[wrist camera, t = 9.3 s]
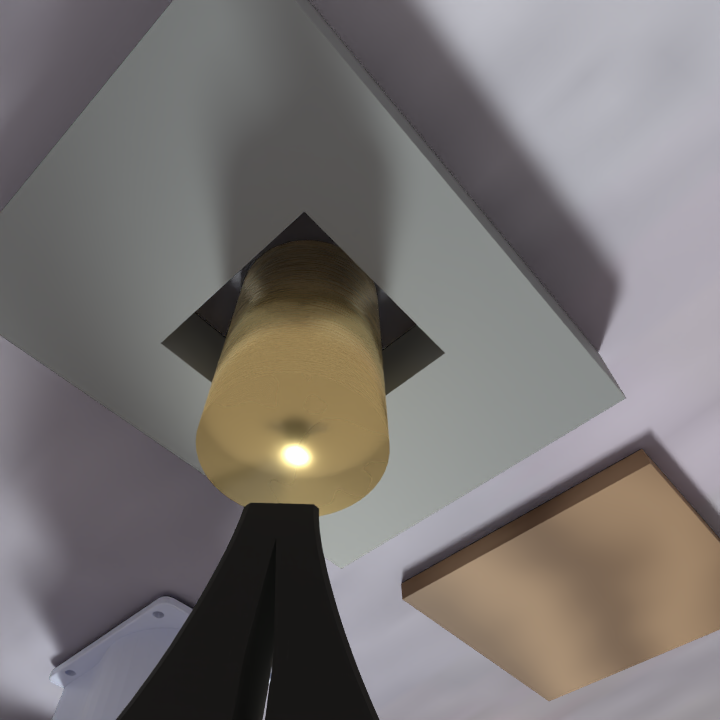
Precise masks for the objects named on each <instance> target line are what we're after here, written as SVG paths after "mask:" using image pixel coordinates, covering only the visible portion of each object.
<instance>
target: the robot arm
mask: <svg viewBox="0 0 720 720" xmlns="http://www.w3.org/2000/svg"><path fill="white" fill-rule="evenodd" d="M49 680H50V681H51V682H52V683H54V684H56V685H58V686H60V687H62V688H64V690H63V693H62V695H61V698H60V700H59V703H58V706H57V708H56V711H55V713H54V716H53V719H52V720H262V719H263V713H264V708H265V702H266V697H267V691H268V686H269V683H270V686H269V694H268V701H267V709H266V717H265V720H379V718H378V715H377V713H376V711H375V709H374V706H373V704H372V702H371V699H370V697H369V695H368V692H367V690H366V687H365V685H364V683H363V680H362V678H361V675H360V672H359V670H358V667H357V665H356V662H355V659H354V657H353V654H352V651H351V648H350V645H349V643H348V640H347V637H346V634H345V631H344V628H343V625H342V622H341V619H340V616H339V612H338V609H337V606H336V602H335V598H334V595H333V591H332V588H331V584H330V580H329V576H328V572H327V568H326V563H325V558H324V553H323V548H322V542H321V535H320V525H319V508H318V507H317V506H315V505H314V504H287V503H249V504H247V505H246V506H245V507H244V509H243V512H242V515H241V517H240V520H239V522H238V525H237V527H236V529H235V532H234V534H233V536H232V538H231V540H230V542H229V545H228V547H227V549H226V551H225V553H224V555H223V556H222V558H221V560H220V562H219V564H218V566H217V568H216V570H215V572H214V573H213V575H212V577H211V579H210V581H209V582H208V584H207V586H206V588H205V590H204V591H203V593H202V595H201V597H200V598H199V600H198V602H197V603H196V605H195V607H194V608H193V609H192V608H190V607H188V606H187V605H185V604H183V603H181V602H179V601H178V600H176V599H174V598H172V597H167V596H165V597H161V598H158V599H157V600H155V601H154V602H152V603H151V604H149V605H148V606H146V607H145V608H144V609H142V610H141V611H139V612H138V613H136V614H135V615H133V616H132V617H130V618H129V619H127V620H126V621H124V622H123V623H121V624H120V625H118V626H117V627H115V628H114V629H112V630H111V631H109V632H108V633H107V634H105V635H104V636H102V637H101V638H99V639H98V640H96V641H95V642H93V643H92V644H90V645H89V646H87V647H86V648H84V649H83V650H81V651H80V652H78V653H77V654H75V655H74V656H73V657H71V658H70V659H68V660H67V661H65V662H64V663H62V664H61V665H59V666H58V667H56V668H55V669H53V670H52V672H51V674H50V676H49Z"/></svg>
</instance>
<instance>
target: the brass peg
mask: <svg viewBox="0 0 720 720" xmlns="http://www.w3.org/2000/svg"><path fill="white" fill-rule="evenodd" d="M196 452H197V456H198V460H199V462H200V465H201V467H202V469H203V471H204V473H205V474H206V476H207V477H208V479H209V480H210V481H211V482H212V484H213V485H214V486H215V487H216V488H217V489H218V490H219V491H220V492H222V493H223V494H224V495H225V496H227V497H228V498H230V499H231V500H233V501H234V502H236V503H238V504H240V505H242V506H244V507H245V506H246V505H247V504H249V503H287V504H314V505H315V506H317V507H318V508H319V516H323V515H327V514H331V513H334V512H337V511H340V510H343V509H345V508H347V507H349V506H351V505H353V504H355V503H356V502H358V501H360V500H361V499H362V498H364V497H365V496H366V495H368V494H369V493H370V492H371V491H372V490H373V489H374V488H375V486H376V485H377V484H378V482H379V481H380V480H381V478H382V476H383V474H384V472H385V470H386V467H387V464H388V460H389V454H390V443H389V431H388V419H387V406H386V394H385V382H384V370H383V358H382V346H381V333H380V321H379V309H378V297H377V291H376V287H375V284H374V281H373V280H372V279H371V278H370V277H369V276H368V275H367V274H366V273H365V272H364V271H363V270H362V269H361V268H360V267H359V266H358V265H357V264H356V263H355V262H354V261H353V260H352V259H351V258H350V257H349V256H348V255H347V254H346V253H345V252H344V251H343V250H342V249H341V248H340V247H338V246H335V245H332V244H329V243H326V242H321V241H314V240H298V241H292V242H288V243H285V244H281V245H279V246H277V247H274V248H272V249H271V250H269V251H267V252H266V253H264V254H263V255H262V256H261V257H260V258H258V259H257V260H256V262H255V263H254V264H253V265H252V266H251V268H250V269H249V271H248V272H247V275H246V277H245V279H244V282H243V285H242V288H241V291H240V295H239V298H238V301H237V304H236V307H235V311H234V314H233V317H232V320H231V323H230V326H229V330H228V333H227V336H226V339H225V342H224V346H223V349H222V352H221V355H220V358H219V361H218V365H217V368H216V371H215V374H214V377H213V381H212V384H211V387H210V390H209V393H208V396H207V400H206V403H205V406H204V409H203V412H202V416H201V419H200V422H199V425H198V429H197V433H196Z"/></svg>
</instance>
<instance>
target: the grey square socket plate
mask: <svg viewBox="0 0 720 720" xmlns="http://www.w3.org/2000/svg"><path fill="white" fill-rule="evenodd" d="M303 212H305V213H306V214H307V215H308V216H309V217H310V218H311V219H312V220H313V221H314V222H315V223H316V224H317V225H318V226H319V227H320V228H321V229H322V230H323V231H324V232H325V233H326V234H327V235H328V236H329V237H330V238H331V239H332V240H333V241H334V242H335V243H336V244H337V245H338V246H339V247H340V248H341V249H342V250H343V251H344V252H345V253H346V254H347V255H348V256H349V257H350V258H351V259H352V260H353V261H354V262H355V263H356V264H357V265H358V266H359V267H360V268H361V269H362V270H363V271H364V272H365V273H366V274H367V275H368V276H369V277H370V278H371V279H372V280H373V281H374V282H375V283H376V284H377V285H378V286H379V287H380V288H381V289H382V290H383V291H384V292H385V293H386V294H387V295H388V296H389V297H390V298H391V299H392V300H393V301H394V302H395V303H396V304H397V305H398V306H399V307H400V308H401V309H402V310H403V311H404V312H405V313H406V314H407V315H408V316H409V317H410V318H411V319H412V320H413V321H414V322H415V323H416V324H417V325H416V326H415V327H413V328H412V329H411V330H409V331H408V332H407V333H405V334H404V335H403V336H401V337H400V338H399V339H397V340H396V341H395V342H393V343H392V344H391V345H389V346H388V347H387V348H385V349H384V350H383V351H382V358H383V370H384V382H385V394H386V406H387V419H388V431H389V443H390V454H389V460H388V464H387V467H386V470H385V472H384V474H383V476H382V478H381V480H380V481H379V482H378V484H377V485H376V486H375V488H374V489H373V490H372V491H371V492H370V493H369V494H368V495H366V496H365V497H364V498H362V499H361V500H360V501H358V502H356V503H355V504H353V505H351V506H349V507H347V508H345V509H343V510H340V511H337V512H334V513H331V514H327V515H323V516H319V525H320V535H321V542H322V548H323V553H324V557H325V558H326V559H328V560H329V561H331V562H332V563H334V564H335V565H337V566H338V567H340V568H341V569H342V568H344V567H345V566H347V565H349V564H350V563H352V562H354V561H355V560H357V559H359V558H360V557H362V556H364V555H365V554H367V553H369V552H370V551H372V550H374V549H375V548H377V547H379V546H380V545H382V544H384V543H385V542H387V541H389V540H390V539H392V538H394V537H395V536H397V535H399V534H400V533H402V532H404V531H405V530H407V529H409V528H410V527H412V526H414V525H415V524H417V523H419V522H420V521H422V520H424V519H425V518H427V517H429V516H430V515H432V514H434V513H435V512H437V511H439V510H440V509H442V508H444V507H445V506H447V505H449V504H450V503H452V502H454V501H455V500H457V499H459V498H460V497H462V496H464V495H465V494H467V493H469V492H470V491H472V490H474V489H475V488H477V487H479V486H480V485H482V484H484V483H485V482H487V481H489V480H490V479H492V478H494V477H495V476H497V475H499V474H500V473H502V472H504V471H505V470H507V469H509V468H510V467H512V466H514V465H515V464H517V463H519V462H520V461H522V460H524V459H525V458H527V457H529V456H530V455H532V454H534V453H535V452H537V451H539V450H540V449H542V448H544V447H545V446H547V445H549V444H550V443H552V442H554V441H555V440H557V439H559V438H560V437H562V436H564V435H565V434H567V433H569V432H570V431H572V430H574V429H575V428H577V427H579V426H580V425H582V424H584V423H585V422H587V421H589V420H590V419H592V418H594V417H595V416H597V415H599V414H600V413H602V412H604V411H605V410H607V409H609V408H610V407H612V406H614V405H615V404H617V403H619V402H620V401H622V400H624V399H625V398H626V397H625V395H624V394H623V392H622V390H621V389H620V387H619V386H618V384H617V382H616V381H615V379H614V377H613V376H612V374H611V373H610V371H609V369H608V368H607V366H606V364H605V363H604V361H603V360H602V358H601V356H600V355H599V353H598V352H597V351H596V349H595V348H594V347H593V346H592V345H591V343H590V342H589V341H588V340H587V339H586V337H585V336H584V335H583V334H582V332H581V331H580V330H579V329H578V328H577V326H576V325H575V324H574V323H573V322H572V320H571V319H570V318H569V317H568V315H567V314H566V313H565V312H564V311H563V309H562V308H561V307H560V306H559V305H558V303H557V302H556V301H555V300H554V298H553V297H552V296H551V295H550V294H549V292H548V291H547V290H546V289H545V288H544V286H543V285H542V284H541V283H540V281H539V280H538V279H537V278H536V277H535V275H534V274H533V273H532V272H531V271H530V269H529V268H528V267H527V266H526V264H525V263H524V262H523V261H522V260H521V258H520V257H519V256H518V255H517V253H516V252H515V251H514V250H513V249H512V247H511V246H510V245H509V244H508V243H507V241H506V240H505V239H504V238H503V236H502V235H501V234H500V233H499V232H498V230H497V229H496V228H495V227H494V226H493V224H492V223H491V222H490V221H489V219H488V218H487V217H486V216H485V215H484V213H483V212H482V211H481V210H480V209H479V207H478V206H477V205H476V204H475V202H474V201H473V200H472V199H471V198H470V196H469V195H468V194H467V193H466V192H465V190H464V189H463V188H462V187H461V185H460V184H459V183H458V182H457V181H456V179H455V178H454V177H453V176H452V175H451V173H450V172H449V171H448V170H447V168H446V167H445V166H444V165H443V164H442V162H441V161H440V160H439V159H438V157H437V156H436V155H435V154H434V153H433V151H432V150H431V149H430V148H429V147H428V145H427V144H426V143H425V142H424V140H423V139H422V138H421V137H420V136H419V134H418V133H417V132H416V131H415V130H414V128H413V127H412V126H411V125H410V123H409V122H408V121H407V120H406V119H405V117H404V116H403V115H402V114H401V113H400V111H399V110H398V109H397V108H396V106H395V105H394V104H393V103H392V102H391V100H390V99H389V98H388V97H387V96H386V94H385V93H384V92H383V91H382V89H381V88H380V87H379V86H378V85H377V83H376V82H375V81H374V80H373V79H372V77H371V76H370V75H369V74H368V72H367V71H366V70H365V69H364V68H363V66H362V65H361V64H360V63H359V61H358V60H357V59H356V58H355V57H354V55H353V54H352V53H351V52H350V51H349V49H348V48H347V47H346V46H345V44H344V43H343V42H342V41H341V40H340V38H339V37H338V36H337V35H336V34H335V32H334V31H333V30H332V29H331V27H330V26H329V25H328V24H327V23H326V21H325V20H324V19H323V18H322V17H321V15H320V14H319V13H318V12H317V10H316V9H315V8H314V7H313V6H312V4H311V3H310V2H309V1H308V0H173V1H172V2H171V3H170V5H169V6H168V7H167V8H166V10H165V11H164V12H163V13H162V15H161V16H160V17H159V18H158V19H157V21H156V22H155V23H154V24H153V26H152V27H151V28H150V29H149V30H148V32H147V33H146V34H145V35H144V37H143V38H142V39H141V40H140V42H139V43H138V44H137V45H136V46H135V48H134V49H133V50H132V51H131V53H130V54H129V55H128V56H127V58H126V59H125V60H124V61H123V62H122V64H121V65H120V66H119V67H118V69H117V70H116V71H115V72H114V73H113V75H112V76H111V77H110V78H109V80H108V81H107V82H106V83H105V85H104V86H103V87H102V88H101V89H100V91H99V92H98V93H97V94H96V96H95V97H94V98H93V99H92V101H91V102H90V103H89V104H88V105H87V107H86V108H85V109H84V110H83V112H82V113H81V114H80V115H79V117H78V118H77V119H76V120H75V121H74V123H73V124H72V125H71V126H70V128H69V129H68V130H67V131H66V132H65V134H64V135H63V136H62V137H61V139H60V140H59V141H58V142H57V144H56V145H55V146H54V147H53V148H52V150H51V151H50V152H49V153H48V155H47V156H46V157H45V158H44V160H43V161H42V162H41V163H40V164H39V166H38V167H37V168H36V169H35V171H34V172H33V173H32V174H31V175H30V177H29V178H28V179H27V180H26V182H25V183H24V184H23V185H22V187H21V188H20V189H19V190H18V191H17V193H16V194H15V195H14V196H13V198H12V199H11V200H10V201H9V203H8V204H7V205H6V206H5V207H4V209H3V210H2V211H1V212H0V335H1V336H2V337H4V338H5V339H6V340H8V341H9V342H11V343H12V344H14V345H15V346H17V347H18V348H20V349H21V350H23V351H24V352H25V353H27V354H28V355H30V356H31V357H33V358H34V359H36V360H37V361H39V362H40V363H42V364H43V365H44V366H46V367H47V368H49V369H50V370H52V371H53V372H55V373H56V374H58V375H59V376H61V377H62V378H63V379H65V380H66V381H68V382H69V383H71V384H72V385H74V386H75V387H77V388H78V389H80V390H81V391H82V392H84V393H85V394H87V395H88V396H90V397H91V398H93V399H94V400H96V401H97V402H99V403H100V404H101V405H103V406H104V407H106V408H107V409H109V410H110V411H112V412H113V413H115V414H116V415H118V416H119V417H120V418H122V419H123V420H125V421H126V422H128V423H129V424H131V425H132V426H134V427H135V428H137V429H138V430H139V431H141V432H142V433H144V434H145V435H147V436H148V437H150V438H151V439H153V440H154V441H155V442H157V443H158V444H160V445H161V446H163V447H164V448H166V449H167V450H169V451H170V452H172V453H173V454H174V455H176V456H177V457H179V458H180V459H182V460H183V461H185V462H186V463H188V464H189V465H191V466H192V467H193V468H195V469H196V470H198V471H199V472H201V473H202V474H204V475H205V476H206V474H205V473H204V471H203V469H202V467H201V465H200V462H199V460H198V456H197V452H196V433H197V429H198V425H199V422H200V419H201V416H202V412H203V409H204V406H205V403H206V400H207V396H208V393H209V390H210V387H211V384H212V381H213V377H214V374H215V371H216V368H217V365H218V361H219V358H220V355H221V352H222V349H223V346H224V342H225V339H226V338H224V337H223V336H222V335H221V334H220V333H218V332H217V331H216V330H215V329H213V328H212V327H211V326H210V325H209V324H207V323H206V322H205V321H204V320H202V319H201V318H200V317H199V316H198V315H196V314H195V313H194V312H195V311H196V310H197V309H199V308H200V307H201V306H202V305H203V304H204V303H205V302H206V301H207V300H208V299H209V298H211V297H212V296H213V295H214V294H215V293H216V292H217V291H218V290H219V289H220V288H221V287H223V286H224V285H225V284H226V283H227V282H228V281H229V280H230V279H231V278H232V277H233V276H235V275H236V274H237V273H238V272H239V271H240V270H241V269H242V268H243V267H244V266H245V265H246V264H248V263H249V262H250V261H251V260H252V259H253V258H254V257H255V256H256V255H257V254H258V253H260V252H261V251H262V250H263V249H264V248H265V247H266V246H267V245H268V244H269V243H270V242H272V241H273V240H274V239H275V238H276V237H277V236H278V235H279V234H280V233H281V232H282V231H284V230H285V229H286V228H287V227H288V226H289V225H290V224H291V223H292V222H293V221H294V220H296V219H297V218H298V217H299V216H300V215H301V214H302V213H303Z"/></svg>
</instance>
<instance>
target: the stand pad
mask: <svg viewBox="0 0 720 720" xmlns="http://www.w3.org/2000/svg"><path fill="white" fill-rule="evenodd" d="M401 587H402V599H403V600H404V601H406V602H407V603H409V604H410V605H411V606H413V607H414V608H416V609H417V610H419V611H420V612H422V613H423V614H424V615H426V616H427V617H429V618H430V619H432V620H433V621H434V622H436V623H437V624H439V625H440V626H442V627H443V628H444V629H446V630H447V631H449V632H450V633H452V634H453V635H455V636H456V637H457V638H459V639H460V640H462V641H463V642H465V643H466V644H467V645H469V646H470V647H472V648H473V649H475V650H476V651H477V652H479V653H480V654H482V655H483V656H485V657H486V658H488V659H489V660H490V661H492V662H493V663H495V664H496V665H498V666H499V667H500V668H502V669H503V670H505V671H506V672H508V673H509V674H511V675H512V676H513V677H515V678H516V679H518V680H519V681H521V682H522V683H523V684H525V685H526V686H528V687H529V688H531V689H532V690H533V691H535V692H536V693H538V694H539V695H541V696H542V697H544V698H545V699H546V700H548V701H551V700H553V699H556V698H558V697H560V696H563V695H565V694H568V693H570V692H572V691H575V690H577V689H579V688H582V687H584V686H587V685H589V684H591V683H594V682H596V681H598V680H601V679H603V678H606V677H608V676H610V675H613V674H615V673H617V672H620V671H622V670H625V669H627V668H629V667H632V666H634V665H636V664H639V663H641V662H644V661H646V660H648V659H651V658H653V657H655V656H658V655H660V654H662V653H665V652H667V651H670V650H672V649H674V648H677V647H679V646H681V645H684V644H686V643H689V642H691V641H693V640H696V639H698V638H700V637H703V636H705V635H708V634H710V633H712V632H715V631H717V630H719V629H720V538H719V537H718V536H717V535H716V534H715V533H714V531H713V530H712V529H711V528H710V527H709V526H708V524H707V523H706V522H705V521H704V520H703V519H702V518H701V516H700V515H699V514H698V513H697V512H696V511H695V509H694V508H693V507H692V506H691V505H690V504H689V503H688V501H687V500H686V499H685V498H684V497H683V496H682V494H681V493H680V492H679V491H678V490H677V489H676V488H675V486H674V485H673V484H672V483H671V482H670V481H669V479H668V478H667V477H666V476H665V475H664V474H663V473H662V471H661V470H660V469H659V468H658V467H657V466H656V464H655V463H654V462H653V461H652V460H651V459H650V458H649V456H648V455H647V454H646V453H645V452H644V451H643V449H641V450H639V451H637V452H635V453H634V454H632V455H630V456H628V457H626V458H625V459H623V460H621V461H619V462H617V463H616V464H614V465H612V466H610V467H609V468H607V469H605V470H603V471H601V472H600V473H598V474H596V475H594V476H593V477H591V478H589V479H587V480H585V481H584V482H582V483H580V484H578V485H576V486H575V487H573V488H571V489H569V490H568V491H566V492H564V493H562V494H560V495H559V496H557V497H555V498H553V499H551V500H550V501H548V502H546V503H544V504H543V505H541V506H539V507H537V508H535V509H534V510H532V511H530V512H528V513H527V514H525V515H523V516H521V517H519V518H518V519H516V520H514V521H512V522H510V523H509V524H507V525H505V526H503V527H502V528H500V529H498V530H496V531H494V532H493V533H491V534H489V535H487V536H485V537H484V538H482V539H480V540H478V541H477V542H475V543H473V544H471V545H469V546H468V547H466V548H464V549H462V550H461V551H459V552H457V553H455V554H453V555H452V556H450V557H448V558H446V559H444V560H443V561H441V562H439V563H437V564H436V565H434V566H432V567H430V568H428V569H427V570H425V571H423V572H421V573H419V574H418V575H416V576H414V577H412V578H411V579H409V580H407V581H405V582H403V583H402V584H401Z"/></svg>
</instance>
